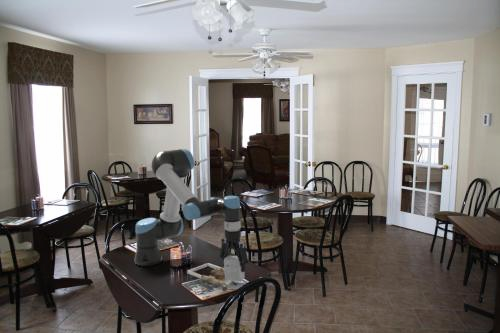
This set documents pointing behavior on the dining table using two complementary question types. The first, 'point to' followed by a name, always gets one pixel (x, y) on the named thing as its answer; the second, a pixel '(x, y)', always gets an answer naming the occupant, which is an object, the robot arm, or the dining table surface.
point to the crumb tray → (201, 268)
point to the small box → (232, 268)
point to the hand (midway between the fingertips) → (234, 275)
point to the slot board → (214, 279)
